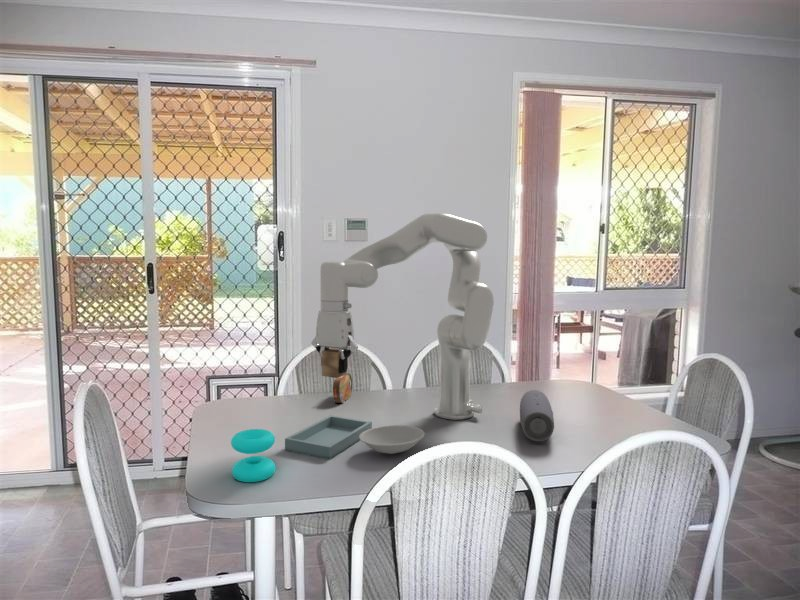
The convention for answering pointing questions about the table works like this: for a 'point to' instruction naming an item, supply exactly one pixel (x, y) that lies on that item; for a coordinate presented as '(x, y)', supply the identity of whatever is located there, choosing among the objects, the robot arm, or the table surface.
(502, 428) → the table surface
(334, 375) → the block
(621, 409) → the table surface
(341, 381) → the tin
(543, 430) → the bluetooth speaker
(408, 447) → the dish
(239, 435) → the donuts
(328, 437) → the tray
